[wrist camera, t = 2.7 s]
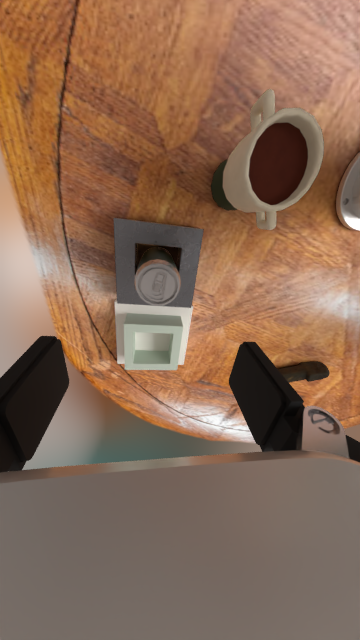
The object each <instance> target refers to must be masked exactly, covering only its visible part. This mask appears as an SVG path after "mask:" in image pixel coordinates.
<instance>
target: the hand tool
mask: <svg viewBox="0 0 360 640" xmlns="http://www.w3.org/2000/svg"><path fill="white" fill-rule="evenodd" d="M278 370H279V372H280V373H281V374H282V375H283V377H284V378H285V379H286V380H287V381H288V382H294V381H299V380H304V379H306V380H307V381H308V382H309V381H314V380H319V379H320V380H321V379H323V378H326V377H328V375H329V374H330V373H329V370H328V368H327V367H326V366H325V365H324V364H323V363H321V362H302V363H300V364H299V365H297V366H293V367H286V368H282V369H278Z"/></svg>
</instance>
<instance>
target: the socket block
mask: <svg viewBox="0 0 360 640" xmlns="http://www.w3.org/2000/svg"><path fill="white" fill-rule="evenodd" d="M203 230H204V229H200V228H194V227H186V226H178V225H171V224H163V223H155V222H147V221H139V220H132V219H124V218H114V239H115V264H116V288H117V303H118V304H134V305H150V304H148V303H146V302H145V301H144V300H142V299H141V298H140V296H139V294H138V293H137V291H136V288H135V284H134V282H135V274H136V272H137V243H143V244H152V245H161V246H170V247H179V250H178V259H177V270H178V272H179V275H180V279H181V285H180V290H179V293H178V294H177V296H176V298H175V299H174V300H173V301H172V302H170V303H168V304H166V305H162V306H167V307H183V308H191V306H192V300H193V294H194V287H195V281H196V275H197V268H198V262H199V256H200V249H201V243H202V237H203ZM150 306H154V305H150Z"/></svg>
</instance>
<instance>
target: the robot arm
mask: <svg viewBox="0 0 360 640" xmlns="http://www.w3.org/2000/svg"><path fill="white" fill-rule="evenodd" d="M336 211H337V215H338V218H339V220H340V221H341V223H342V224H343V225H344V226H345V227H347V228H349V229H351V230H356V231H360V152H359V153H358V154H357V155H356V156H355V158H354V159H353V160H352V162H351V163H350V164H349V166H348V168H347V170H346V171H345V173H344V175H343V178H342V180H341V182H340V185H339V189H338V192H337V199H336ZM68 385H69V378H68V373H67V368H66V363H65V358H64V353H63V349H62V344H61V341H60V340H59V339H57V338H56V337H55V336H41V337H39V338H38V339H37V340H36V341H35V342H34V344H33V345H32V346H31V347H30V348H29V349H28V350H27V351H26V352H25V353H24V354H23V355H22V356H21V357H20V358H19V359H18V360H17V361H16V362H15V363H14V364H13V365H12V366H11V367H10V369H9V370H8V371H7V372H6V373H5V374H4V375H3V376H2V377H1V378H0V640H360V442H358V441H356V440H354V439H353V438H351V437H349V436H347V435H345V431H344V428H343V426H342V424H341V423H340V422H339V421H338V420H337V419H336V418H335V417H334V416H333V415H332V414H330V413H329V412H328V411H326V410H324V409H322V408H319V407H316V406H307V407H306V408H305V407H304V406H303V402H304V401H303V400H302V398H301V397H300V396H299V395H298V394H297V392H296V391H295V390H294V389H293V388H292V386H291V385H290V384H289V383H288V381H287V380H286V379H285V378H284V377H283V375H282V374H281V373H280V372H279V370H278V369H277V368H276V367H275V366H274V364H273V363H272V362H271V361H270V360H269V358H268V357H267V356H266V355H265V353H264V352H263V351H262V350H261V349H260V347H259V346H258V345H257V344H256V343H255V342H244V343H243V344H241V345H240V347H239V350H238V353H237V356H236V359H235V362H234V365H233V369H232V372H231V375H230V378H229V385H230V387H231V389H232V392H233V394H234V396H235V398H236V400H237V403H238V405H239V407H240V409H241V411H242V414H243V416H244V418H245V420H246V422H247V425H248V427H249V429H250V431H251V433H252V436H253V438H254V440H255V442H256V443H257V444H258V445H260V447H261V449H262V452H253V453H238V454H222V455H208V456H194V457H180V458H166V459H153V460H140V461H127V462H115V463H101V464H89V465H78V466H77V465H76V466H65V467H52V468H42V469H31V470H22V469H23V467H24V465H25V463H26V461H28V460H30V459H31V458H32V457H33V455H34V453H35V451H36V449H37V447H38V445H39V443H40V441H41V439H42V437H43V435H44V434H45V431H46V430H47V427H48V426H49V424H50V422H51V420H52V418H53V416H54V413H55V412H56V410H57V408H58V406H59V404H60V402H61V400H62V398H63V396H64V394H65V392H66V390H67V388H68ZM8 471H10V472H8Z"/></svg>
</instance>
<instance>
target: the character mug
mask: <svg viewBox="0 0 360 640" xmlns="http://www.w3.org/2000/svg"><path fill="white" fill-rule="evenodd" d="M262 111H263V121H262V122H261V113H262ZM250 121H251V132H250V133H249V134H248V135H247V136H246V137H245V138H243V139H242V140H241V141H240V142H239V143H238V145H237V146H236V147H235V149H234V150H233V151H232V153H231V154H230V156H229V158H228V159H227V160H225V161H224V162H222V163H221V164H220V165H219V167H218V168H217V170H216V171H215V173H214V176H213V180H212V184H211V189H212V195H213V199H214V200H215V202H216V203H217V205H218V206H219V207H221V208H223V209H225V210H237V209H238V210H241V211H243V212H245V213H248V212H256V221H257V227H258V228H259V229H266V230H272V229H274V228H275V227H276V211H279V210H284V209H285V208H287V207H289V206H291V205H293V204H294V203H296V202H298V200H299V199H300V198H301V197H302V196H303V195H304V194H305V193H306V192H307V191H308V190H309V189H310V187H311V185H312V184H313V182H314V180H315V178H316V177H317V175H318V173H319V170H320V167H321V163H322V160H323V154H324V140H323V134H322V129H321V128H320V126H319V124H318V123H317V121H316V119H315V117H314V116H313V115H311V114H310V113H308V112H306V111H305V110H303V109H302V108H283V109H281V110H280V111H278V112H276V113H275V95H274V91H273V90H271V89H268V90H266V91H265V92H264V93H263V94H262V96H261V97H260V98H259V99H258V100H257V101H256V102H255V104H254V105H253V106H252V108H251V113H250ZM265 212H266V220H265Z"/></svg>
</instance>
